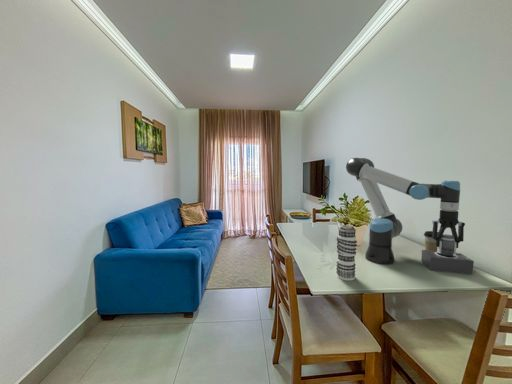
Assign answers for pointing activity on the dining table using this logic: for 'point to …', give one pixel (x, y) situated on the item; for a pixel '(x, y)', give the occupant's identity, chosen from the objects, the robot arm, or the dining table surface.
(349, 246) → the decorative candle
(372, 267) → the dining table surface
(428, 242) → the coffee cup
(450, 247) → the lens
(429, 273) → the dining table surface
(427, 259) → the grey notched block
